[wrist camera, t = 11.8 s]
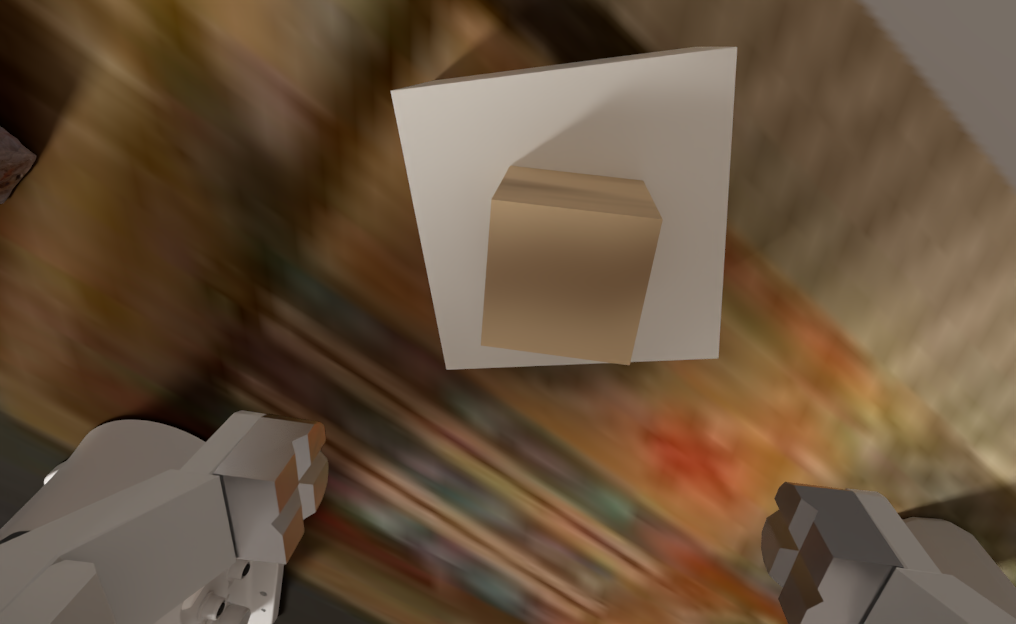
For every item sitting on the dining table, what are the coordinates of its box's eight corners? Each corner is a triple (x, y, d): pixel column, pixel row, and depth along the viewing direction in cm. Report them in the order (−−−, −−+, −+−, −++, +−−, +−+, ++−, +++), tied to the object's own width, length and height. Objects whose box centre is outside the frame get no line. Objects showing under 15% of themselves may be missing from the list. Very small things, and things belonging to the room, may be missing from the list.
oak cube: (618, 301, 22) (629, 365, 18) (499, 286, 22) (480, 345, 18) (643, 180, 20) (662, 219, 15) (510, 165, 20) (491, 199, 16)
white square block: (687, 291, 29) (718, 358, 23) (472, 304, 31) (446, 369, 25) (694, 46, 24) (737, 46, 17) (435, 80, 26) (390, 90, 19)
